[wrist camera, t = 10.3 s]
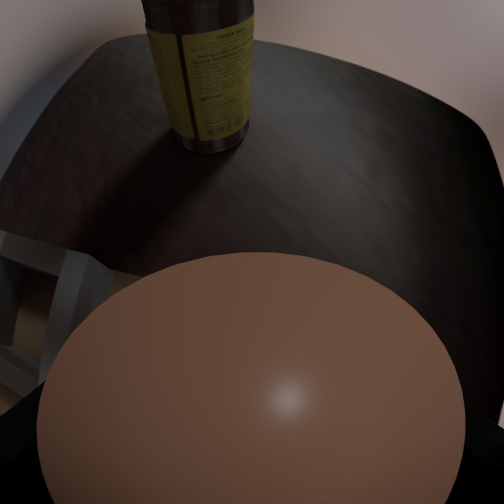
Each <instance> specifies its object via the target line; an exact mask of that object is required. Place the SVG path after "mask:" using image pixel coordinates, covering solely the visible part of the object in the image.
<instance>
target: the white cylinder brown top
mask: <svg viewBox="0 0 504 504" xmlns="http://www.w3.org/2000/svg"><path fill="white" fill-rule="evenodd" d="M464 440H465V408H464V401H463V395H462V389H461V386H460V382H459V379H458V376H457V373H456V370H455V367H454V365H453V363H452V361H451V359H450V357H449V355H448V353H447V351H446V349H445V347H444V345H443V344H442V342H441V341H440V339H439V338H438V336H437V335H436V333H435V332H434V331H433V329H432V328H431V326H430V325H429V324H428V323H427V322H426V321H425V320H424V319H423V318H422V317H421V316H420V315H419V314H418V312H417V311H416V310H415V309H414V308H413V307H411V306H410V305H409V304H408V303H406V302H405V301H404V300H403V299H401V298H400V297H399V296H398V295H396V294H395V293H394V292H392V291H391V290H389V289H388V288H386V287H384V286H382V285H381V284H379V283H377V282H376V281H374V280H372V279H370V278H369V277H367V276H364V275H362V274H360V273H357V272H355V271H352V270H350V269H347V268H345V267H342V266H340V265H337V264H333V263H329V262H325V261H321V260H318V259H314V258H310V257H304V256H296V255H289V254H281V253H235V254H226V255H218V256H209V257H205V258H201V259H197V260H193V261H189V262H185V263H181V264H177V265H174V266H171V267H169V268H166V269H164V270H161V271H158V272H156V273H153V274H151V275H148V276H146V277H144V278H142V279H140V280H138V281H137V282H135V283H133V284H131V285H129V286H128V287H126V288H124V289H122V290H120V291H119V292H117V293H116V294H114V295H113V296H112V297H110V298H109V299H108V300H106V301H105V302H104V303H103V304H101V305H100V306H99V307H97V308H96V309H95V310H94V311H93V312H92V313H91V314H90V315H89V316H88V317H87V318H86V319H85V320H84V321H83V322H82V323H81V324H80V325H79V326H78V327H77V328H76V329H75V330H74V331H73V333H72V334H71V335H70V337H69V338H68V340H67V341H66V342H65V344H64V345H63V347H62V348H61V350H60V351H59V353H58V354H57V356H56V358H55V360H54V362H53V364H52V367H51V369H50V371H49V373H48V375H47V377H46V381H45V384H44V387H43V391H42V394H41V398H40V402H39V409H38V417H37V447H38V454H39V459H40V464H41V469H42V473H43V476H44V479H45V482H46V485H47V487H48V490H49V493H50V495H51V497H52V499H53V501H54V503H55V504H445V502H446V500H447V498H448V496H449V494H450V492H451V489H452V487H453V485H454V482H455V480H456V477H457V473H458V470H459V466H460V463H461V459H462V454H463V448H464Z"/></svg>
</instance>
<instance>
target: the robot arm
mask: <svg viewBox="0 0 504 504" xmlns="http://www.w3.org/2000/svg"><path fill="white" fill-rule="evenodd" d="M45 381H46V380H45ZM45 381H44V382H43V383H41V384H40V385H39V386H38V387H37V388H35V389H34V390H33V391H32V392H30V393H29V394H28V395H27V396H25V398H23V399H22V400H20V401H19V402H18V403H17V404H15V405H14V406H13V407H11V408H10V409H9V410H8V411H6V412H5V413H3V414H2V415H0V504H55V503H54V501H53V499H52V497H51V495H50V493H49V490H48V487H47V485H46V482H45V479H44V476H43V473H42V469H41V464H40V459H39V454H38V447H37V417H38V409H39V402H40V398H41V394H42V391H43V387H44V384H45ZM464 408H465V440H464V448H463V454H462V459H461V463H460V466H459V470H458V473H457V477H456V480H455V482H454V485H453V487H452V489H451V492H450V494H449V496H448V498H447V500H446V502H445V504H504V429H503V428H502V427H500V426H498V425H497V424H495V423H494V422H492V421H490V420H489V419H487V418H486V417H484V416H483V415H481V414H480V413H479V412H477V411H476V410H475V409H473V408H472V407H471V406H469V405H468V404H467V403H465V402H464Z"/></svg>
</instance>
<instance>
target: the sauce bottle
mask: <svg viewBox="0 0 504 504" xmlns="http://www.w3.org/2000/svg"><path fill="white" fill-rule="evenodd" d="M141 1H142V5H143V9H144V13H145V19H146V22H145V27H146V31H147V36H148V40H149V44H150V48H151V52H152V56H153V60H154V64H155V68H156V72H157V76H158V80H159V84H160V87H161V91H162V95H163V99H164V102H165V106H166V110H167V113H168V117H169V121H170V124H171V125H172V127H173V129H174V132H175V137H176V139H177V141H178V142H179V143H180V144H181V145H182V146H183V147H185V148H186V149H188V150H190V151H193V152H196V153H199V154H214V153H219V152H222V151H225V150H229V149H231V148H232V147H234V146H236V145H237V144H238V143H239V142H240V141H241V139H242V138H243V137H244V136H245V135H246V133H247V131H248V127H249V116H250V112H251V88H252V56H253V30H254V1H253V0H141Z"/></svg>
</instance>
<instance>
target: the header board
mask: <svg viewBox="0 0 504 504" xmlns="http://www.w3.org/2000/svg"><path fill="white" fill-rule="evenodd" d="M142 278H144V277H140V276H136V275H132V274H128V273H124V272H120V271H116V270H112V269H108V268H107V267H106V266H104V265H103V264H101V263H100V262H99V261H97V260H96V259H94V258H93V257H92V256H90V255H88V254H84V253H80V252H77V251H73V250H69V249H65V248H61V247H58V246H54V245H50V244H47V243H43V242H39V241H36V240H32V239H29V238H25V237H22V236H18V235H15V234H11V233H8V232H5V231H1V230H0V415H2V414H3V413H5V412H6V411H8V410H9V409H10V408H11V407H13V406H14V405H15V404H17V403H18V402H19V401H20V400H22V399H23V398H25V396H27V395H28V394H29V393H30V392H32V391H33V390H34V389H35V388H37V387H38V386H39V385H40V384H41V383H43V382H44V381H45V380H46V377H47V375H48V373H49V371H50V369H51V367H52V364H53V362H54V360H55V358H56V356H57V354H58V353H59V351H60V350H61V348H62V347H63V345H64V344H65V342H66V341H67V340H68V338H69V337H70V335H71V334H72V333H73V331H74V330H75V329H76V328H77V327H78V326H79V325H80V324H81V323H82V322H83V321H84V320H85V319H86V318H87V317H88V316H89V315H90V314H91V313H92V312H93V311H94V310H95V309H96V308H97V307H99V306H100V305H101V304H103V303H104V302H105V301H106V300H108V299H109V298H110V297H112V296H113V295H114V294H116V293H117V292H119V291H120V290H122V289H124V288H126V287H128V286H129V285H131V284H133V283H135V282H137V281H138V280H140V279H142Z"/></svg>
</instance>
